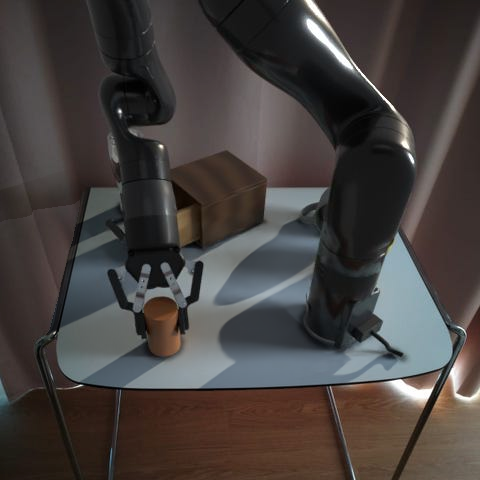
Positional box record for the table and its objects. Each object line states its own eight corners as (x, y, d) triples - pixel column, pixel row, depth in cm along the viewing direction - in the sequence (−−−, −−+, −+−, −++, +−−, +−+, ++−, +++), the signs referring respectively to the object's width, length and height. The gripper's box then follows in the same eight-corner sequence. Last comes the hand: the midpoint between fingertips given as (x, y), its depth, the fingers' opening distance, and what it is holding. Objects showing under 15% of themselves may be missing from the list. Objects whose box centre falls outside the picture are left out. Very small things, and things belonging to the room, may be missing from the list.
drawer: (133, 272, 85) (127, 235, 79) (102, 238, 91) (95, 201, 85) (219, 234, 93) (219, 199, 87) (186, 205, 99) (184, 170, 93)
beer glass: (124, 196, 102) (113, 125, 91) (157, 199, 101) (150, 129, 90) (113, 215, 97) (100, 143, 86) (148, 219, 97) (139, 148, 86)
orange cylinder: (186, 347, 75) (184, 311, 69) (159, 361, 73) (154, 325, 67) (169, 328, 78) (166, 291, 72) (142, 341, 75) (136, 305, 70)
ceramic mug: (354, 216, 100) (362, 182, 94) (350, 240, 94) (357, 206, 89) (302, 207, 101) (307, 173, 96) (295, 230, 96) (299, 196, 90)
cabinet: (202, 248, 91) (201, 204, 84) (166, 215, 98) (162, 171, 91) (263, 221, 97) (267, 178, 90) (226, 192, 104) (226, 149, 97)
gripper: (198, 218, 75) (210, 329, 76) (102, 225, 73) (115, 340, 74) (202, 208, 67) (215, 332, 68) (95, 216, 65) (109, 344, 66)
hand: (163, 335), depth 71 cm, fingers closed on orange cylinder, 5 cm apart
